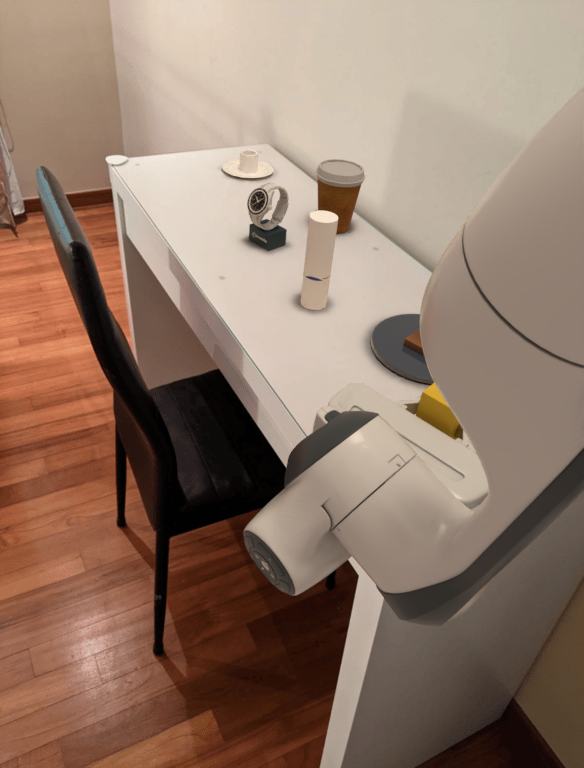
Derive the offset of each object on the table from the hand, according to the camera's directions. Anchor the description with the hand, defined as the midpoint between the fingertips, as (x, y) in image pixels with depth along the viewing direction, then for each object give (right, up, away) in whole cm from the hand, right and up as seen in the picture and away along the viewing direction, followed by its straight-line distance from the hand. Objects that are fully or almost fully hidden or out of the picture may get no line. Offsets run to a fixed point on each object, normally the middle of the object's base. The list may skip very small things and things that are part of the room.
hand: (446, 414), depth 71 cm
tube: (-15, +17, +29) cm, 36 cm away
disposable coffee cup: (-10, +35, +52) cm, 64 cm away
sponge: (-1, -4, +3) cm, 5 cm away
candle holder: (-28, +53, +71) cm, 93 cm away
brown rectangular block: (+2, +9, +20) cm, 22 cm away
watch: (-23, +30, +44) cm, 58 cm away
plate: (+2, +9, +21) cm, 23 cm away
